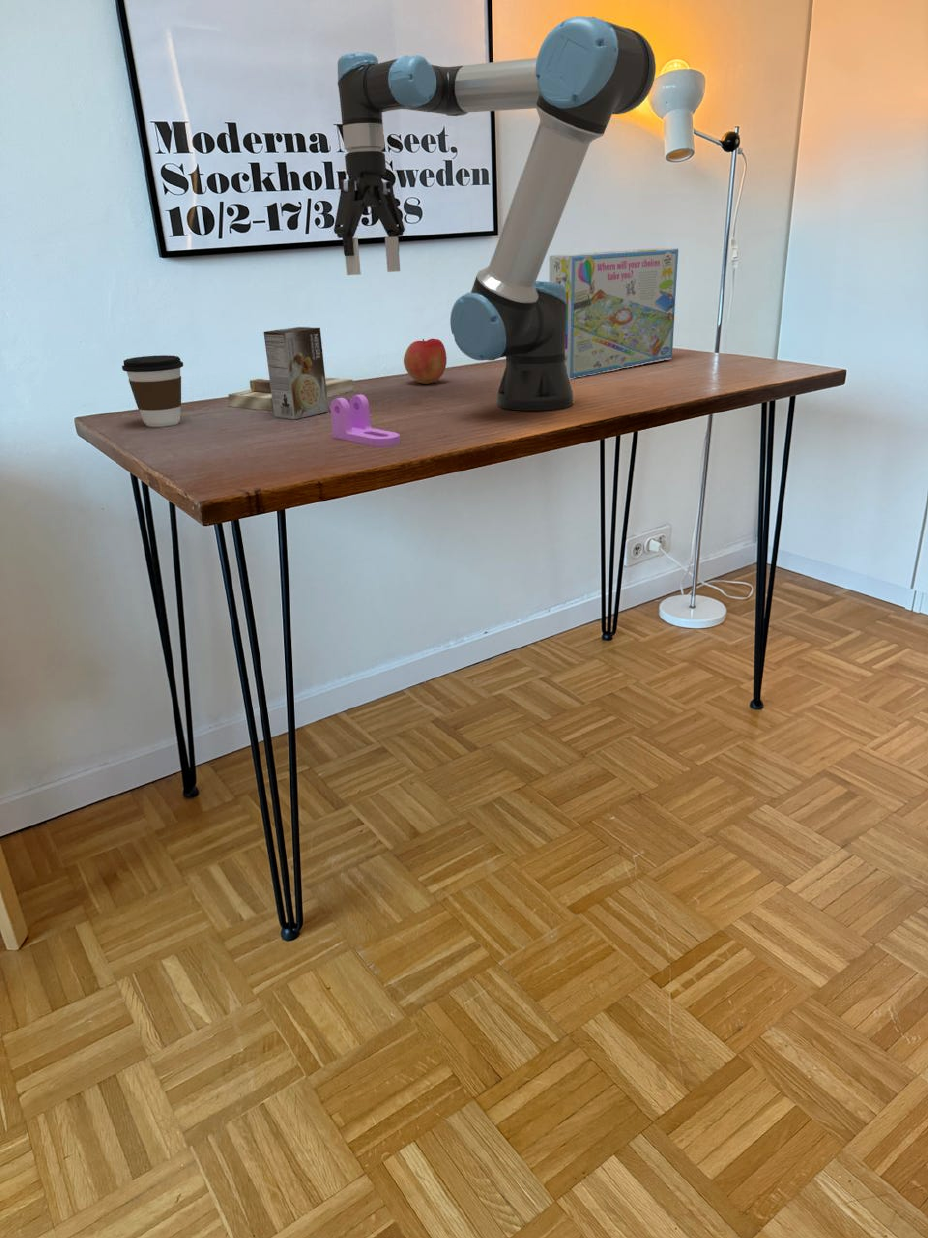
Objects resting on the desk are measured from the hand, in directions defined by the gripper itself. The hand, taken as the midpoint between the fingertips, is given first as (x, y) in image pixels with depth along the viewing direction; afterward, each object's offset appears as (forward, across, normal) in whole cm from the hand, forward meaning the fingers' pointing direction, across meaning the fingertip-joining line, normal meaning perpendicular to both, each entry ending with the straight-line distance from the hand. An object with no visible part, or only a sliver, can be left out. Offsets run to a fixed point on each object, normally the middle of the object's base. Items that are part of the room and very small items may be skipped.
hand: (374, 273), depth 171 cm
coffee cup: (+25, +36, -27) cm, 51 cm away
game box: (+26, -61, +27) cm, 71 cm away
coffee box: (+25, +18, -8) cm, 32 cm away
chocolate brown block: (+25, +12, -18) cm, 33 cm away
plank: (+24, +4, -21) cm, 33 cm away
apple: (+25, -24, -5) cm, 35 cm away
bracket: (+26, +31, +18) cm, 45 cm away
